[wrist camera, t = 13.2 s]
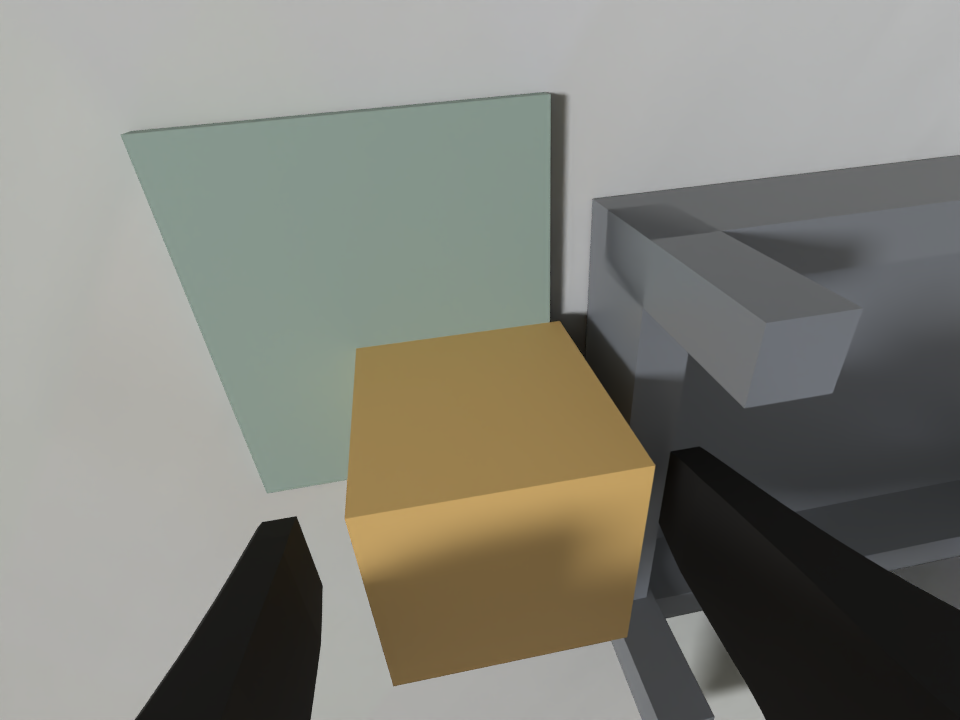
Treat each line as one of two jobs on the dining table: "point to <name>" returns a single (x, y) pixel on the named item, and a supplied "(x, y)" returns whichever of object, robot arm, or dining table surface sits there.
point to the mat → (347, 250)
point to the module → (492, 500)
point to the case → (785, 366)
